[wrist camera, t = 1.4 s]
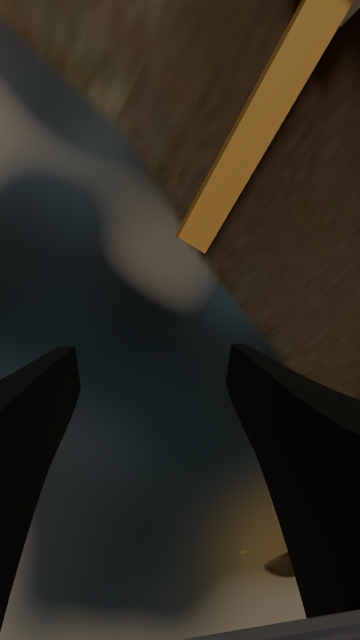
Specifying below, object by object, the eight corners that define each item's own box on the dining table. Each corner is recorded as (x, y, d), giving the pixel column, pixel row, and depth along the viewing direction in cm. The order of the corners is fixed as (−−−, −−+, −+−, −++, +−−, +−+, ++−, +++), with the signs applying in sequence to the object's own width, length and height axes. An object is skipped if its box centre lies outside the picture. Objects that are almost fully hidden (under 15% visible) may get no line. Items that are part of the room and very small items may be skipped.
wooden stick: (206, 254, 17) (216, 260, 14) (167, 230, 16) (170, 232, 13) (380, -41, 12) (447, -118, 9) (339, -98, 11) (399, -202, 8)
